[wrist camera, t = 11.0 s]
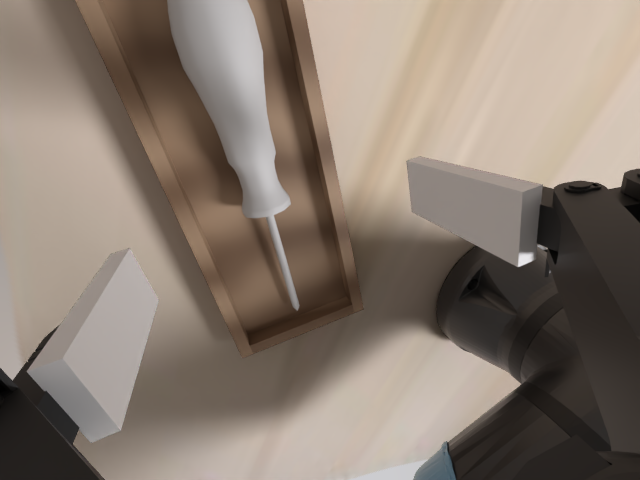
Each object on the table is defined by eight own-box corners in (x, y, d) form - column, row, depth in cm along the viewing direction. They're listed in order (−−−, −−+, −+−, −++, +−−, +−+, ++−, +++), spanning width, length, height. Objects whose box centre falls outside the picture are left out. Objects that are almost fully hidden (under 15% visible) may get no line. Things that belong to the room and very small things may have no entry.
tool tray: (353, 295, 33) (363, 309, 30) (239, 339, 30) (242, 358, 28) (270, -98, 19) (278, -124, 17) (54, -69, 17) (31, -94, 15)
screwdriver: (272, 301, 31) (271, 333, 27) (161, -27, 18) (130, -50, 15) (320, 290, 31) (326, 322, 27) (242, -45, 18) (231, -72, 14)
